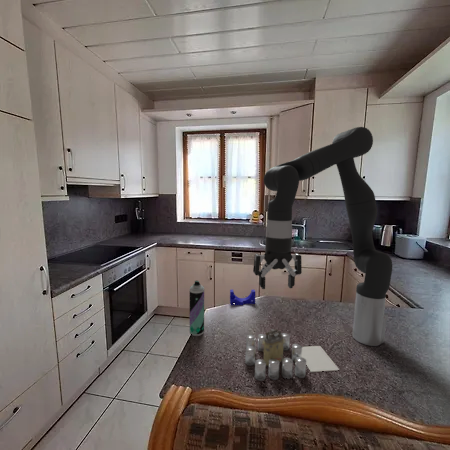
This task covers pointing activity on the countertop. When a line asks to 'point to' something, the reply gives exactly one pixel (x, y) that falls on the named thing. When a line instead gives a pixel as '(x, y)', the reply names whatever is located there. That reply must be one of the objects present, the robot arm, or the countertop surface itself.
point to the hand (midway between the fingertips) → (276, 287)
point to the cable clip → (241, 301)
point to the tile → (317, 359)
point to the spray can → (197, 309)
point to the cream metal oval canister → (273, 346)
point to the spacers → (274, 363)
